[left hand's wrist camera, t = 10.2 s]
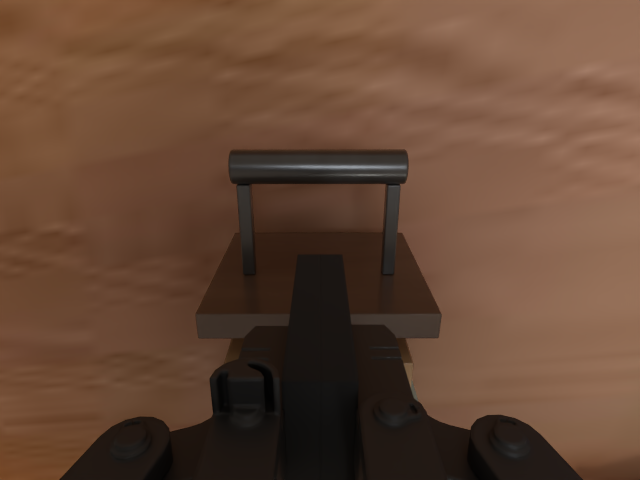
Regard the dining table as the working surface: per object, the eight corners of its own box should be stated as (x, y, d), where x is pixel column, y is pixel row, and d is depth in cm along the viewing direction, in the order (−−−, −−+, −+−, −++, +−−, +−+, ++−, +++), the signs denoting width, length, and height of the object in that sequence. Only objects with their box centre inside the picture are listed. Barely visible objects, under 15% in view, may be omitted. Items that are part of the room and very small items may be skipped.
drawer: (227, 131, 24) (176, 169, 16) (409, 131, 24) (459, 169, 16) (251, 442, 33) (227, 576, 24) (386, 442, 33) (410, 575, 24)
